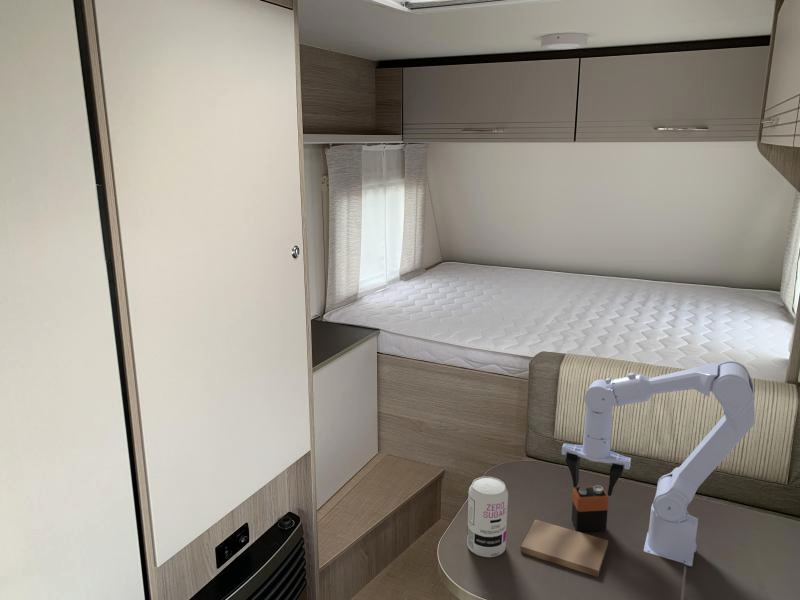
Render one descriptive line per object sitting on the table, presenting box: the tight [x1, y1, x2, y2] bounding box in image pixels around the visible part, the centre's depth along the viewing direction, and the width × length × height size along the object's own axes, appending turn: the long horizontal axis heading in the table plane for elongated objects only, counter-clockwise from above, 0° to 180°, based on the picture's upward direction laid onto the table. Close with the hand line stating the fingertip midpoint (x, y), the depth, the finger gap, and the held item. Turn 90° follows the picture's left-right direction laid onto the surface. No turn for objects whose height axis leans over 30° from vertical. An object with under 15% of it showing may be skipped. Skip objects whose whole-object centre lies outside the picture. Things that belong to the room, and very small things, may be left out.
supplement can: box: [466, 476, 509, 558], centre depth 126 cm, size 8×8×15 cm
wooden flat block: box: [520, 519, 609, 578], centre depth 127 cm, size 16×11×2 cm
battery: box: [571, 484, 609, 533], centre depth 133 cm, size 4×7×10 cm, turn 91°
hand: (592, 489), depth 133 cm, fingers open, 7 cm apart
